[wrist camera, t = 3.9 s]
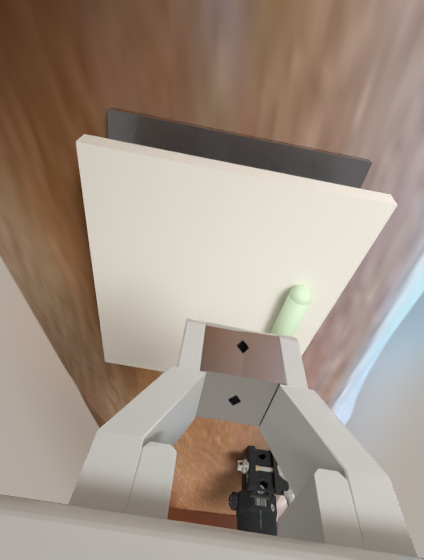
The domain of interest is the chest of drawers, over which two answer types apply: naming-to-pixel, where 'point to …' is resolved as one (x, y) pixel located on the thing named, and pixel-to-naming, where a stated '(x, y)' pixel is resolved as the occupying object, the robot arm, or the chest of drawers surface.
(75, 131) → the chest of drawers surface
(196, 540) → the robot arm
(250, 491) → the scope
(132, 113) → the stage base
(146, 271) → the panel
